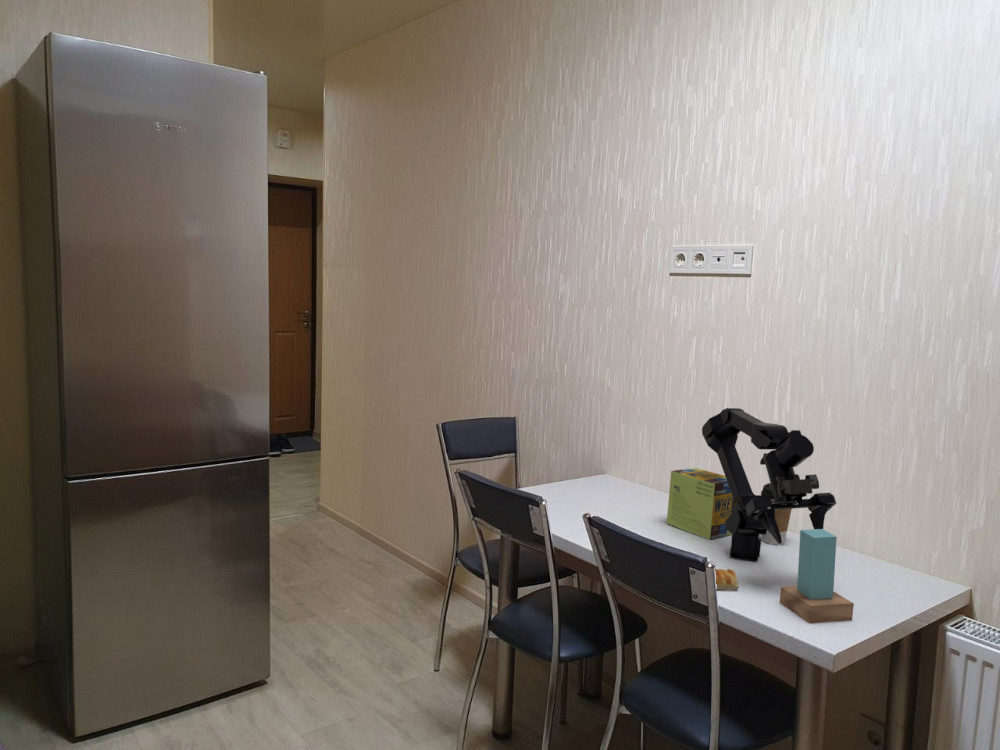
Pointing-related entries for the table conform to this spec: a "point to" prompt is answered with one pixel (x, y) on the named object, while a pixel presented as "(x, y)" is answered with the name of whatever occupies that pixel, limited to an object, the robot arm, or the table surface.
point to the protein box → (699, 502)
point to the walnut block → (816, 606)
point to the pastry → (726, 579)
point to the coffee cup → (780, 516)
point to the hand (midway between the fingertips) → (800, 541)
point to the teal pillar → (816, 563)
